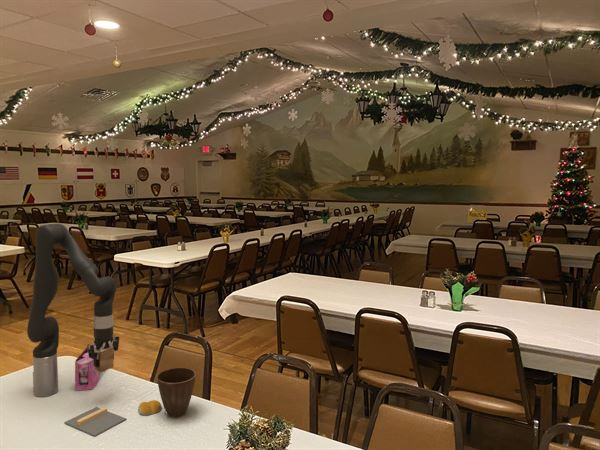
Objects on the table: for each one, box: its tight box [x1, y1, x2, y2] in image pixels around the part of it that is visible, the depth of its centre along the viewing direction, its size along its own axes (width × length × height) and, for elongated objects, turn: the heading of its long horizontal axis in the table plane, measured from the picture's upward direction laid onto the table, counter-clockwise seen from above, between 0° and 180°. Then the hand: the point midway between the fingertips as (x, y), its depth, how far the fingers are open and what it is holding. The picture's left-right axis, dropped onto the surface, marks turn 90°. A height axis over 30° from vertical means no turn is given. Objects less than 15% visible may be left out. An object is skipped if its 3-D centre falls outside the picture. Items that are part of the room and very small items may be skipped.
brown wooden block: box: [94, 347, 114, 372], centre depth 190 cm, size 4×6×9 cm, turn 151°
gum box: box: [74, 346, 107, 391], centre depth 212 cm, size 24×8×14 cm, turn 9°
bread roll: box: [137, 399, 162, 416], centre depth 185 cm, size 8×9×4 cm
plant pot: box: [156, 367, 196, 418], centre depth 183 cm, size 15×15×16 cm
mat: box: [63, 406, 127, 438], centre depth 176 cm, size 18×14×2 cm
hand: (104, 364), depth 190 cm, fingers closed on brown wooden block, 6 cm apart
